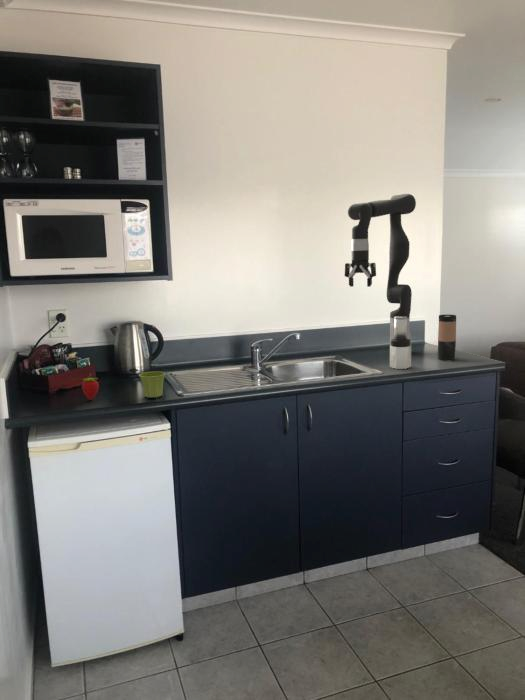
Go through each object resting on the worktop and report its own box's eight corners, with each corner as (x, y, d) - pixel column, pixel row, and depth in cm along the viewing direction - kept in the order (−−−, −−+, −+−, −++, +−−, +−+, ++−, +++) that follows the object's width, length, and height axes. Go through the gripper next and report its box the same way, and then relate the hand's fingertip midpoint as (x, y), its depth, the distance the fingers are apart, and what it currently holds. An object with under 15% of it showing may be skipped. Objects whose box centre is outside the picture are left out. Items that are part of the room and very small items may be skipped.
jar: (386, 366, 244) (386, 339, 242) (401, 364, 247) (401, 337, 245) (398, 370, 236) (399, 341, 234) (414, 368, 239) (415, 340, 237)
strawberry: (99, 397, 207) (97, 370, 205) (100, 402, 200) (98, 374, 198) (82, 399, 205) (80, 372, 203) (83, 404, 198) (80, 376, 196)
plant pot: (142, 394, 209) (140, 371, 207) (168, 393, 209) (166, 370, 208) (138, 401, 199) (136, 377, 198) (165, 399, 200) (163, 376, 198)
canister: (401, 338, 243) (401, 315, 242) (409, 340, 238) (409, 316, 237) (391, 339, 241) (391, 316, 240) (399, 341, 236) (399, 317, 235)
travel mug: (457, 358, 256) (458, 314, 253) (452, 361, 250) (454, 316, 247) (440, 357, 261) (441, 314, 257) (435, 360, 254) (436, 316, 251)
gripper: (378, 249, 247) (378, 286, 250) (349, 250, 255) (349, 285, 258) (371, 249, 241) (371, 287, 244) (341, 250, 249) (342, 287, 252)
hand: (360, 286), depth 251 cm, fingers open, 8 cm apart
